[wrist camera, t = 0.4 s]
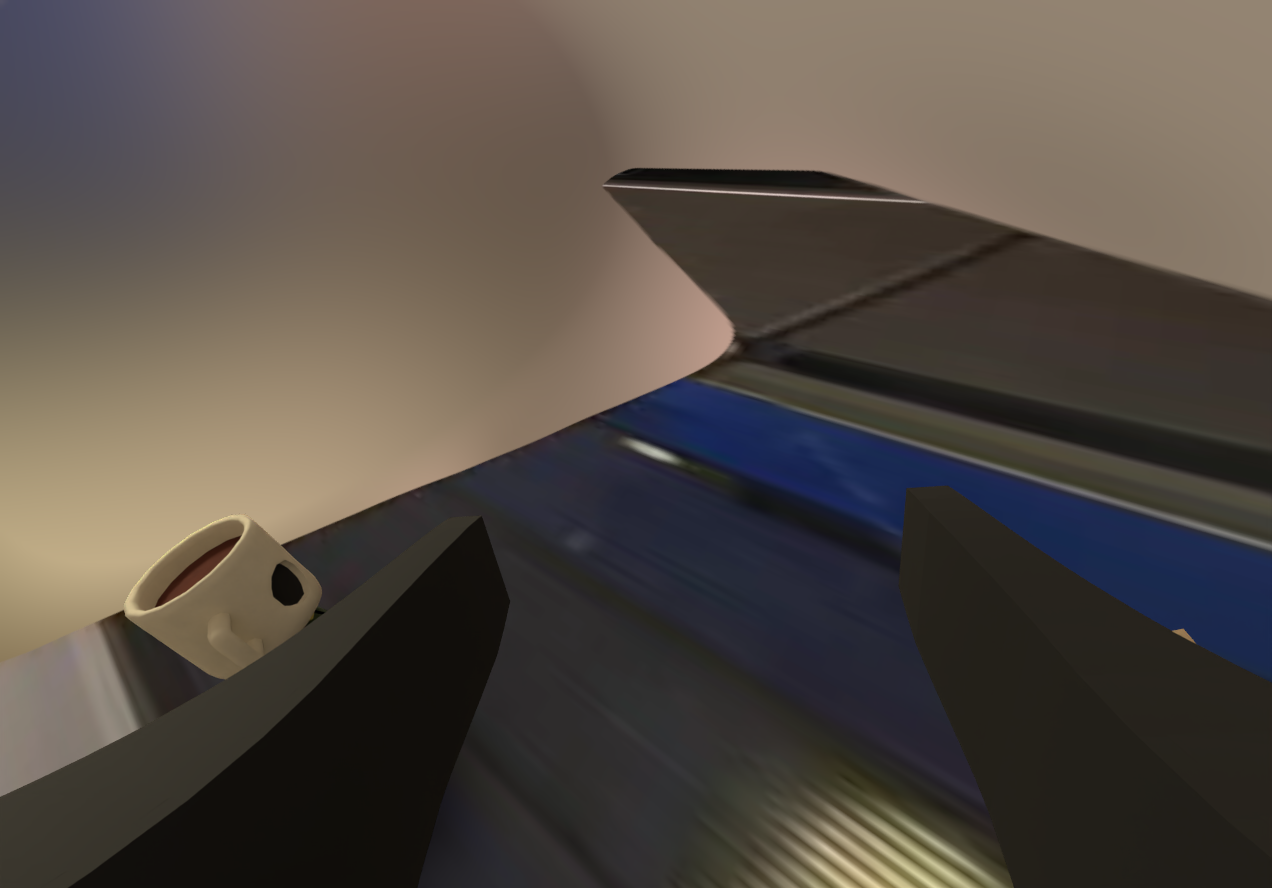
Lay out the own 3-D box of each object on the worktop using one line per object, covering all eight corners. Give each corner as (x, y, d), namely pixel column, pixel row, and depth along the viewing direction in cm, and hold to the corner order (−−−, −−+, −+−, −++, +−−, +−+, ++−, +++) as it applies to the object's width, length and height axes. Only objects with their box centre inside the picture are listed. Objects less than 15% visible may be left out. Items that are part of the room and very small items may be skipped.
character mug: (410, 701, 36) (255, 567, 29) (302, 790, 34) (106, 669, 27) (374, 606, 44) (247, 483, 37) (286, 672, 42) (134, 556, 35)
